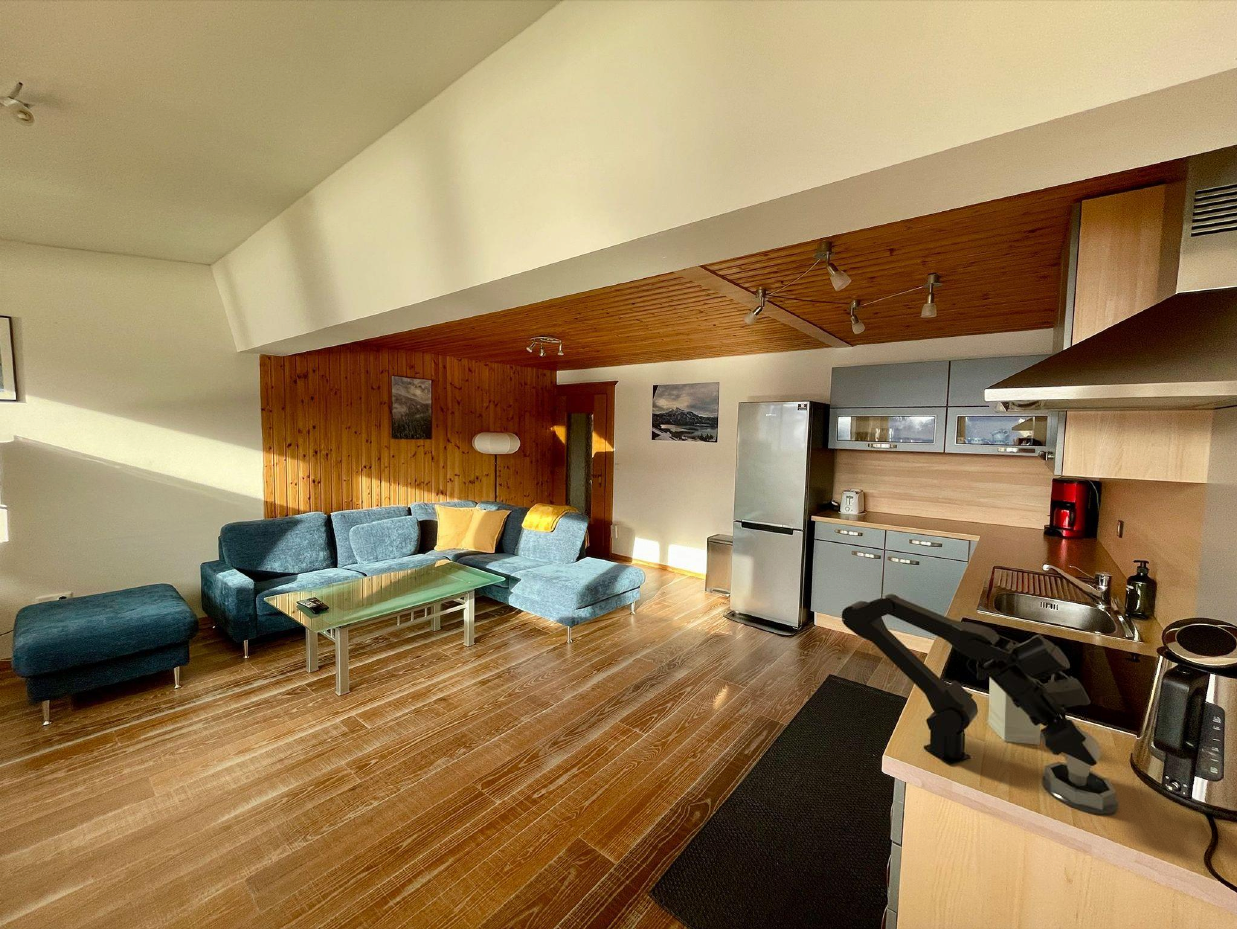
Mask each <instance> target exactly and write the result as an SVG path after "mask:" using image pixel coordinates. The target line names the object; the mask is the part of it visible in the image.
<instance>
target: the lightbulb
mask: <svg viewBox="0 0 1237 929" xmlns="http://www.w3.org/2000/svg"><path fill="white" fill-rule="evenodd" d="M1081 731H1082V732H1083V734H1084V736H1085V737H1086V740H1085V741H1084V742H1082V743H1083V744H1084V746H1085V747H1086V748H1087V750H1088V751H1089V752H1090V754H1091V755H1092V757H1093V758H1094V759H1095V761H1096V762H1097V763H1098V761H1099V760H1100V758H1101V755H1102V750H1101V746H1100V743H1099V742H1098V740H1097V739H1096V738H1095V737H1094V736H1093V735H1091V734H1090V733H1089V732H1087V731H1085V730H1083V729H1081ZM1062 754H1063V756H1064V757H1065V760H1066V763H1067V768H1068V770H1069V780H1070V781H1071V782H1072V783H1074V784H1075V785H1076V786H1085V785H1086V781H1087V776H1088V775H1089V771H1090V770H1091V768H1092V767H1093V766H1091V765H1089V764H1086V763H1084V762H1082V761H1080V760H1078V759H1076V758H1074V757H1072V756H1070V755H1067V754H1065V753H1062Z"/></svg>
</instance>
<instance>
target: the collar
mask: <svg viewBox="0 0 1237 929" xmlns="http://www.w3.org/2000/svg"><path fill="white" fill-rule="evenodd" d="M1041 784H1042V787H1043V789H1044V790H1045V791H1046V793H1048V794H1049V795H1050V796H1051V797H1052V798H1054V799H1055V800H1057V801H1058V802H1060V803H1062V804H1064V805H1065V806H1068V807H1070V808H1073V809H1075V810H1077V811H1080V812H1083V813H1085V814H1086V813H1087V814H1090V815H1096V816H1112V815H1115V814H1116V813H1117V812H1119V802H1118V800H1117V793H1118V792H1117V791H1116V789H1115V788H1114V786H1113V784H1111V782H1110V781H1109V779H1108V778H1106V777H1104V776H1102V775H1101V774H1098V773H1096V772H1094V771H1093V770H1091V769H1090V771H1089V775H1088V776H1087V781H1086V785H1085V786H1076V785H1075V784H1074V783H1072V782H1071V781H1070V780H1069V770H1068V768H1067V762H1062V761H1056V762H1053V763H1050V764H1047V765H1044V775H1043V776H1042V778H1041Z"/></svg>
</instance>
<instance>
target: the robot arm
mask: <svg viewBox="0 0 1237 929" xmlns="http://www.w3.org/2000/svg"><path fill="white" fill-rule="evenodd" d="M888 615H889V616H892V617H894V618H896V619H899V620H901V621H902V622H905V623H907V624H910V625H912V626H914V627H917V628H918V629H921V630H923V631H925V632H928V633H930V634H932V635H934V636H937V637H938V638H941V639H942V640H945V641H946V642H947V643H949V645H951V646H952V647H953V649H955V650H956V651H958V652H959V653H961V654H963V655H964V656H966V657H968V658H969V659H971V660H973V661H975V662H976V666H975V667H976V672H977V675H976V679H977V680H978V681H982V680H984V679H986V678H989V679H990V678H991V679H992V680H993V681H994V682H995V683H996V684H997V685H998V686H999V687H1000V688H1001V689H1002V690H1003V691H1004V692H1005V693H1006V694H1007V695H1008V696H1009V697H1010V698H1011V700H1012V702H1013V704H1014V705H1015V706H1016V707H1017V708H1019V707H1020V708H1021V709H1022V710H1023V711H1024V712H1025V713H1026V714H1027V715H1028V716H1029V718H1030V720H1031V722H1032V723H1033V724H1034V725H1035V726H1037V725H1038V724H1040V725H1043V727H1044V728H1042V729H1041V728H1040V738H1041V739H1040V740H1041V741H1042V743H1043V744H1044V746H1045V747H1046V748H1047V749H1048V751H1050V753H1052V754H1053V755H1055V756H1059V755H1060V754H1063V753H1065V754H1067V755H1070V756H1072V757H1074V758H1076V759H1078V760H1080V761H1082V762H1084V763H1086V764H1089V765H1091V766H1092V767H1094V766H1096V765H1097V764H1098V761H1097V762H1096V761H1095V759H1094V758H1093V757H1092V755H1091V754H1090V752H1089V751H1088V750H1087V748H1086V747H1085V746H1084V744H1083V743H1082V742H1084V741H1085V740H1086V737H1085V736H1084V734H1083V732H1082V731H1081V730H1082V729H1081V728H1080V727H1079V725H1077V724H1076V723H1074V721H1073V720H1072V719H1068V718H1067V716H1066V714H1067V708H1068V707H1069V708H1070V707H1074V706H1081V705H1082V706H1087V705H1090V704H1091V700H1090V698H1089V696H1088V694H1087V693H1086V692H1087V691H1085V688H1084V687H1083V685H1082V683H1081V682H1080V681H1079V680H1078V678H1076V677H1073V676H1072V675H1071V676H1068V675H1066V674H1065V673H1064V672H1062V671H1064V670H1067V669H1070V668H1071V665H1070V662H1069V659H1068V657H1067V656H1066V655H1065V653H1064V652H1063V651H1062V649H1061V648H1060V647H1059V646H1058V645H1055V644H1054V643H1053V642H1051V641H1050V640H1048V639H1046V638H1044V636H1043V635H1042V634H1038V633H1037V635H1033V636H1032V638H1030V639H1027V640H1025V641H1024V642H1022V643H1019V642H1018V641H1015V640H1012V639H1009V638H1007V637H1005V636H1002V635H999V634H998V633H997V632H996V630H994V629H993V628H991V627H988V626H985V625H982V624H979V623H974V622H968V621H960V620H956V619H952V618H950V617H947V616H944V615H942V614H939V613H937V612H935V611H932V610H930V609H928V608H926V607H925V608H924V607H922V606H920V605H918V604H915V603H913V602H911V601H909V600H906V599H903V598H902V597H900V596H899V595H896V594H893V593H889V594H886V595H884V596H883V597H880V598H877V599H873V600H871V601H863V600H859V601H856V602H855V603H852V604H851V605H848V606H846V607H845V608H843V610H842V612H841V622H842V623H843V625H844V626H845V627H846V628H847V629H848V630H850V631H851V632H852V633H854V634H855V635H857V637H860V638H862V639H864V640H866V641H869V642H871V643H872V644H873V645H874V646H875V647H877V649H878V650H879V651H880V652H882V654H884V656H885V657H886V658H888V659H889V660H890V662H892V664H894V665H895V666H896V667H897V668H898V669H899V670H900V671H901V672H902V674H904V675H905V676H906V677H907V678H908V679H909V680H910V681H911V682H912V683H913V684H914V685H915V686H916V687H917V688H918V689H919V690H920V691H921V692H922V693H923V694H924V695H925V697H926V699H927V701H928V703H929V706H930V708H931V709H932V710H933V712H932V713H931V714H930V715H929V716H928V717H927V718H926V720H925V722H926V724H927V725H926V726H927V727H928V730H929V731H930V733H929V734H930V735H929V744H926V745H925V744H924V745H923V749H924V750H925V751H927V752H928V753H930V754H932V755H933V756H935V758H938V759H940V760H941V761H942V762H944V763H946V764H947V765H949V766H952V765H955V764H960V763H962V762H965V761H968V760H971V759H972V756H971V755H970V754H968V753H967V752H965V750H966V749H965V748H966V744H965V743H966V732H965V730H966V729H967V728H968V727H969V726H970V725H971V723H972V722H973V720H974V719H975V718H977V716H978V713H979V709H978V704H977V702H976V701H975V699H973V696H974V694H972V693H970V692H968V691H967V690H966V689H965V688H964V687H963V686H962V685H961V684H960V682H959V681H957V680H954V681H953V682H951V683H950V682H948V681H945V680H943V679H942V678H940V676H938V675H937V674H936V673H935V672H934V671H933V670H931V669H930V668H929V666H927V665H926V663H924V661H922V660H921V659H920V658H919V657H917V655H915V653H914V652H912V651H911V650H910V649H909V648H908V647H907V645H905V644H904V643H903V642H902V641H900V639H898V637H896V636H895V635H894V633H892V632H891V631H890V630H889V629H888V627H887V625H886V624H885V621H884V620H883V617H885V616H888ZM1050 676H1051V677H1050ZM1047 677H1050V679H1049V680H1048V682H1047V683H1042V682H1041V681H1040V680H1043V679H1046V678H1047Z"/></svg>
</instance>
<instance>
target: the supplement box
mask: <svg viewBox="0 0 1237 929" xmlns="http://www.w3.org/2000/svg"><path fill="white" fill-rule="evenodd" d="M988 682H989V689H988V691H989V692H988V694H989V696H988V726H989V727H991V729H992V730H993V731H994V732H995V733H996V734H997V735H998V736H999V737H1000V738H1001V740H1002V741H1003V742H1007V743H1017V744H1027V745H1036V746H1037V745H1040V744H1041V743H1040V742H1041V741H1040V740H1041V739H1040V738H1041V737H1040V733H1041V724H1038V725H1037V726H1035V725H1034V724H1033V723H1032V722H1031V720H1030V718H1029V716H1028V715H1027V714H1026V713H1025V712H1024V711H1023V710H1022V709H1021V708H1020V707H1019V708H1017V707H1016V706H1015V705H1014V704H1013V702H1012V700H1011V698H1010V697H1009V696H1008V695H1007V694H1006V693H1005V692H1004V691H1003V690H1002V689H1001V688H1000V687H999V686H998V685H997V684H996V683H995V682H994V681H993V680H992V679H991V678H990V677H989V680H988Z"/></svg>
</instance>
